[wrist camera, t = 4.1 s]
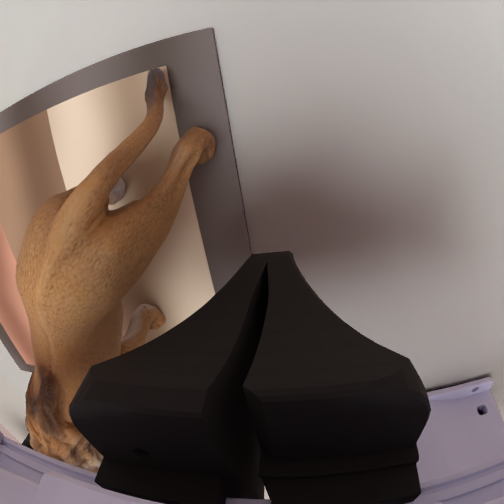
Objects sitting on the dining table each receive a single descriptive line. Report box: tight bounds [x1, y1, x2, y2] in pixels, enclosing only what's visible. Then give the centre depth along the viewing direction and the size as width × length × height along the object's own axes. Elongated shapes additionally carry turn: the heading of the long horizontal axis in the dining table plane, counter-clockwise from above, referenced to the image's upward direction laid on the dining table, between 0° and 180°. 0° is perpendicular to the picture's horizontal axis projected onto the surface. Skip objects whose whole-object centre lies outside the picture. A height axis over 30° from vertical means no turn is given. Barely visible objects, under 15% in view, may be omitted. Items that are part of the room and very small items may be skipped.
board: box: [0, 28, 251, 372], centre depth 14 cm, size 20×17×1 cm
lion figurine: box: [15, 68, 216, 473], centre depth 9 cm, size 15×5×9 cm, turn 168°
